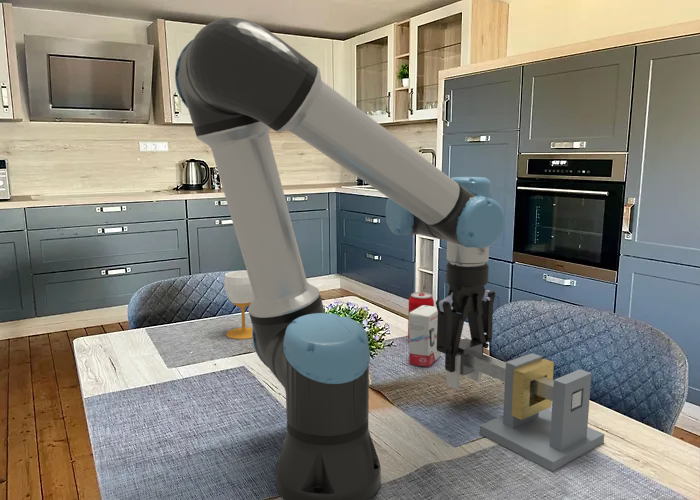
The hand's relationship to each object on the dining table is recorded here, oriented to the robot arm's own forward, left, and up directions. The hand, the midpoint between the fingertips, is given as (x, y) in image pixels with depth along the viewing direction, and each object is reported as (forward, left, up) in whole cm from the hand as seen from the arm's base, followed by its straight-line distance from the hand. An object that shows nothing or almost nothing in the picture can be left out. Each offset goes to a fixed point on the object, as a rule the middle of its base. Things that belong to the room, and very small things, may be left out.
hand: (463, 382), depth 105 cm
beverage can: (+17, +30, -4) cm, 35 cm away
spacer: (0, -15, 0) cm, 15 cm away
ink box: (+9, +20, -4) cm, 22 cm away
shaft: (0, -10, +3) cm, 11 cm away
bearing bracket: (0, -17, -4) cm, 18 cm away
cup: (-16, +62, -4) cm, 64 cm away
